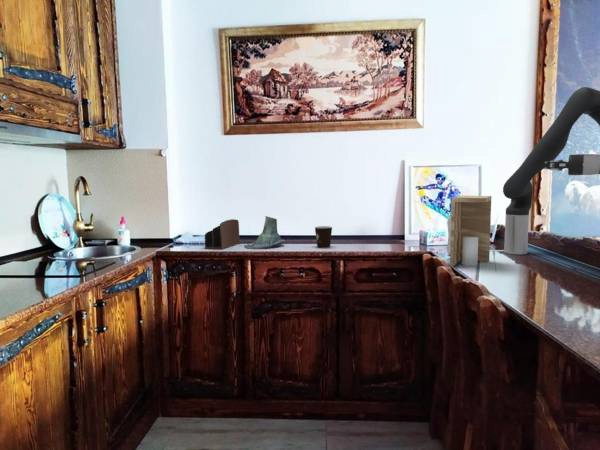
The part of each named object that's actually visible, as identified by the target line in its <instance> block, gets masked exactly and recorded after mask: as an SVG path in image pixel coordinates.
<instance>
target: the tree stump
mask: <svg viewBox="0 0 600 450" xmlns="http://www.w3.org/2000/svg"><path fill="white" fill-rule="evenodd" d="M264 218H265V220H264V223H263V224H264V225H263V230H262V232H261V233H260V234H259V235H258V236H257V238H256V239H255V240H254V241H253V242H252V243H247V244H244V248H245V249H248V250H268V249H274V248H278V247H280V246H282V244H283V243H284V242H285V241H286V240H285V239H283V238H281V235H280V234H279V232H278V219H277V218H274V217H270V216H267V215H265V217H264Z"/></svg>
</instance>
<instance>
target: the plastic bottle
mask: <svg viewBox="0 0 600 450" xmlns="http://www.w3.org/2000/svg"><path fill="white" fill-rule="evenodd" d="M446 222H447V223H446V224H447V231H448V232H447V235H448V237H447V245H446V253H447V254H448V255H449V256H450V244H451V215H450V216H449V217H448V219H447V221H446Z"/></svg>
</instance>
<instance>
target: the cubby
mask: <svg viewBox="0 0 600 450" xmlns="http://www.w3.org/2000/svg"><path fill="white" fill-rule="evenodd" d="M450 202H451V206H450V207H451V209H450V216H451V244H450V255H449V256H450V257H449V267H450V268H454V267H455V266H456V265H457V264H458V263H459V262H461V261H462V249H463V236H476V237H478V262H480V263H481V262H484V263H490V255H491V254H490V253H491V252H490V249H491V247H490V246H491V219H492V218H491V217H492V216H491V215H492V195H456V196H454V197H453V196H452V197H451V201H450Z"/></svg>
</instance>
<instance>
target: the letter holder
mask: <svg viewBox="0 0 600 450" xmlns="http://www.w3.org/2000/svg"><path fill="white" fill-rule="evenodd" d="M239 222H240V221H239V220H238V219H234V218H232V219H227V220H224V221H222V222H221V223H220V224H219V225H217V226H216V227H214V228H212V230H209V231H207V232H205V234H204V249H205V250H222V251H223V250H225V249H228V248H232V247H234V246H237V245H240V244H241V240H240V239H241V238H240V223H239Z"/></svg>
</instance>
